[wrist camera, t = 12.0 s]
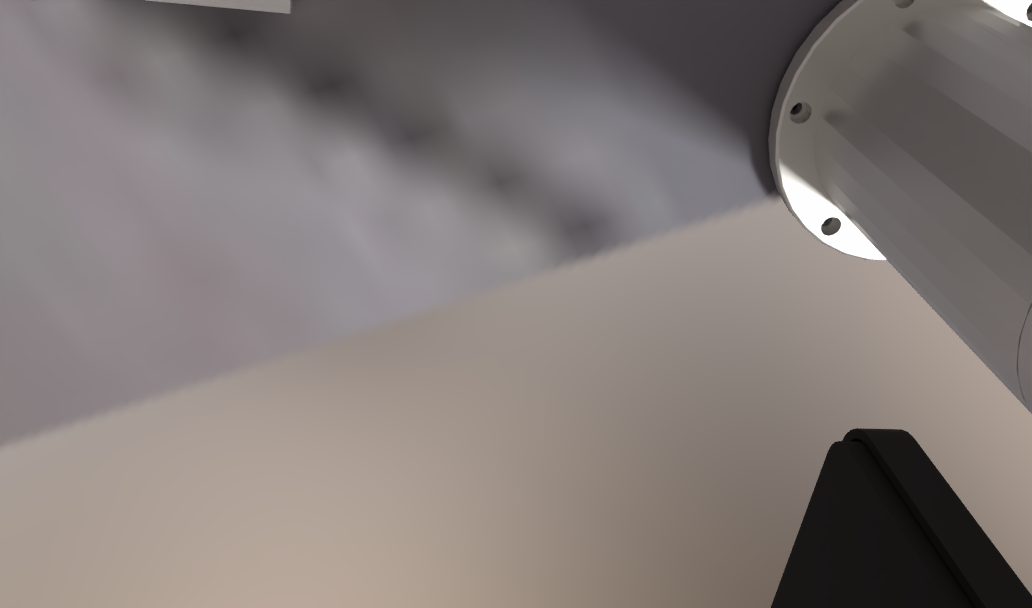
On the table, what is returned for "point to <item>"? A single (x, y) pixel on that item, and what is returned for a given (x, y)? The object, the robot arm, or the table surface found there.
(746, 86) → the table surface
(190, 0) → the chassis
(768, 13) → the table surface
